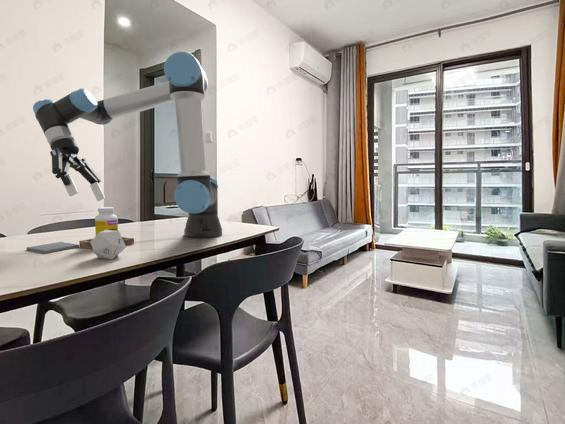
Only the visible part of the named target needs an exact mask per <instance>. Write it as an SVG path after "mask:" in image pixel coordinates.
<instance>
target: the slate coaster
mask: <svg viewBox="0 0 565 424" xmlns="http://www.w3.org/2000/svg"><path fill="white" fill-rule="evenodd" d="M76 248H80V244H78V243H77V244H76V243H71V242H65V241H58V242H57V241H56V242H52V243H45V244H40V245H34V246H33V245H32V246H27V247H26V251H29V252H36V253H41V254H50V253H54V252H61V251H66V250H71V249H76Z"/></svg>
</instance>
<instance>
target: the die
mask: <svg viewBox="0 0 565 424" xmlns="http://www.w3.org/2000/svg"><path fill="white" fill-rule="evenodd" d="M122 237H123V236H122V235H121V232H120V231H119V230H118V231H112V230H104V231H102V232H100V233H98V234H97V235H96V234H95V236H94V237H93V238H91V239H92V240H91V241H90V243H91V245H92V248H93V249H92V250H93V253H94V254H95V255H96V257H97V258H98V259H104V260H113V259H114V258H116V257H117V256H119V254H121V253H122V252H123V251H124V250H125V249H126V248H127V246H126V245H125V243H124V241H123V239H122Z"/></svg>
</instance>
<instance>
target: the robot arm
mask: <svg viewBox="0 0 565 424" xmlns="http://www.w3.org/2000/svg"><path fill="white" fill-rule="evenodd" d="M163 72H164V76H165V78H166V80H167V81H165V82H161V83H158V84H153V85H151V86H147V87H143V88H139V89H136V90H134V91H129V92H126V93H123V94H118V95H115V96H112V97H109V98H105V99H102V100H98V101H97V100H96V98H95V97H94V95H93V94H92V93H91V92H89V90H87V89H85V88H79V89H76V90H75V91H71V92H70V93H69V94H67V95H66V96H63V97H61V98H60V99H58V100H56V101H54V100H52V99H43V100H37V101H36V102H35V103H34V104H33V106H32V109H33V112H34V116H35V120H37V122H38V124H39V126H40V128H41V130H42V132H43V134H44V136H45V138H46V141H47V143H48V144H49V146H50V150H51V151H49V153H50V156H51V173H52V174H53V175H55V178H56V179H60V180H61V181H62V183H63V186H64V188H65V190H66V192H67V194H68V196H69V197H73V196H74V195H77V194H78V193H79V189H78V188H77V186H76V183H75V181H74V180H73V177H72V176H71V174H68V173H69V169H70V168H72V169H73V170H74V171H75V172H78V173H79V174H80V175H81V176H82V177H83V178H84V179H85V180H86V181H87V182H88V183H89V184H90V185H89V187H90V188H91V191H92V193H93V195H94V197H95V199H96V201H97V202H100V201H102V200H103V199H104V200H105V199H106V197H105V194H104V192H103V190H102V188H101V186H100V184H99V183H102V180H101V179H100V177H99V176H98V175H97V174H96V172H95V171H94V169H93V168H92V167H91V166H90V165H89V163H88V161H87V159H86V158H80V157H79V155H78V153H79V152H80V148H79V146H78V144H77V142H76V140H75V138H74V135H73V133H72V131H71V129H70V128H69V124H71V123H73V122H74V121H77V120H78V119H82V120H85V121H88V122H91V123H93V124H96V125H103V126H105V125H108V124H110V122H111V121H113V120H115V119H118V118H122V117H125V116H130V115H132V114H133V115H134V114H136V113H140V112H144V111H148V110H150V109H154V108H157V107H161V106H166V105H168V104H173V103H174V104H175V115H176V128H177V141H178V151H179V153H178V154H179V155H178V156H179V165H180V166H179V167H180V172H179V173H177V175H176V186H177V187H176V189H175V192H174V201H175V203H176V205H177V207H178V208H179V209H180V210H181V211H183V212H184V213H187V215H188V216H187V219H186V223H185V226H184V227H185V228H184V230H183V235H184V237H188V238H193V239H194V238H196V239H197V238H200V239H202V238H204V239H205V238H215V237H220V236H222V235H223V228H222V225H221V221H220V218H219V213H218V212H219V211H218V210H219V209H218V208H219V205H218V203H219V202H218V201H219V200H218V198H219V197H218V195H219V193H218V188H219V185H218V180H217V179H216V178H214V177H211V174H210V173H209V172H208V171H207V170H206V158H205V147H204V146H205V145H204V144H205V142H204V131H203V130H204V129H203V116H202V115H203V113H202V101H203V100H204V99H205V98H206V96H205V93H206V92H207V89H208V86H209V85H208V83H209V81H208V76H207V74H206V72H205V71H204V69H203V68H202V66H201V63H200V61H199V60H198V59H197V58H196V57H195V56H194V55H193V54H192V53H189V52H186V51H176V52H174V53H172V54H170V55H169V56H168V57H167V58H166V60H165V62H164V64H163Z"/></svg>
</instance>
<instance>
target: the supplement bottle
mask: <svg viewBox="0 0 565 424" xmlns="http://www.w3.org/2000/svg"><path fill="white" fill-rule="evenodd" d="M97 212H98V215H96V216H95V218H94V227H95V229H94V230H95V236H96V235H97V234H98V233H100V232H102V231H104V230H112V231H119V218H118V216H117V215H116V214H115V213H114V212H115V207H114V206H104V207H103V206H102V207H98V208H97Z"/></svg>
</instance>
